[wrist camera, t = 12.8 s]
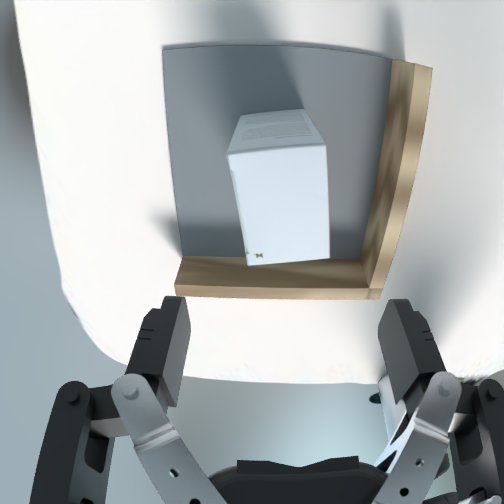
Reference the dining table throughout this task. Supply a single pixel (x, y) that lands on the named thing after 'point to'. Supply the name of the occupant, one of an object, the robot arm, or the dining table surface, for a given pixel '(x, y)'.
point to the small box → (281, 187)
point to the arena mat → (268, 100)
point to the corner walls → (377, 232)
